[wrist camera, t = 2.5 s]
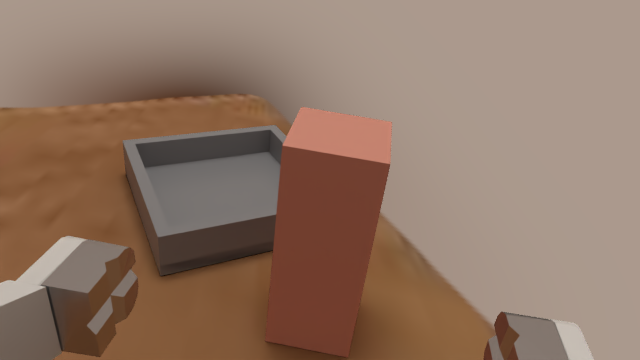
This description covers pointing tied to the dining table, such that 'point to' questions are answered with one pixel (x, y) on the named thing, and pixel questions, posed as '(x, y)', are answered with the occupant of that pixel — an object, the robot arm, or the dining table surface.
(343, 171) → the red post
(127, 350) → the dining table surface
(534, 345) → the robot arm
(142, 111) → the dining table surface
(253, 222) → the parts tray
